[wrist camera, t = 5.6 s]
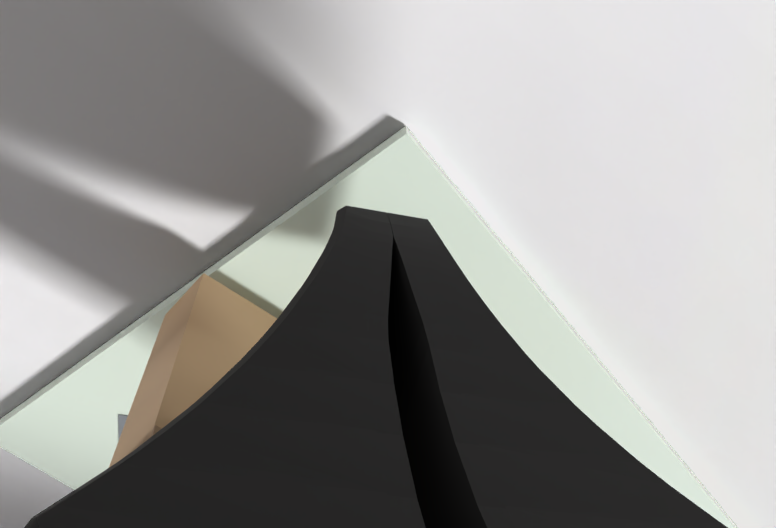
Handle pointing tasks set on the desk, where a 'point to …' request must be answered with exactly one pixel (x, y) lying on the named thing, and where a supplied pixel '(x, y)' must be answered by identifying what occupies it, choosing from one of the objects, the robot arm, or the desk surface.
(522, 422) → the robot arm
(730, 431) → the desk surface
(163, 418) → the fence wing
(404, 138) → the card
